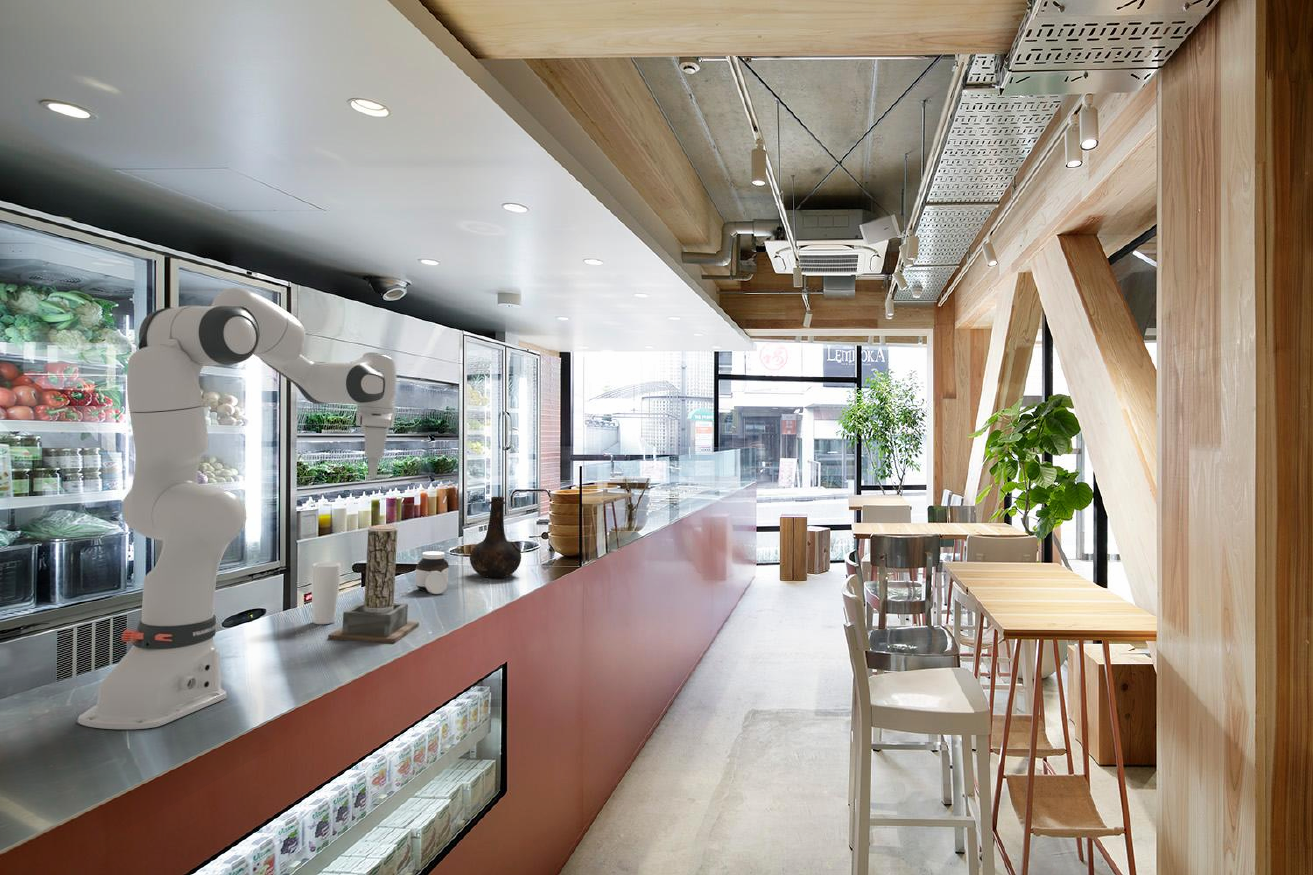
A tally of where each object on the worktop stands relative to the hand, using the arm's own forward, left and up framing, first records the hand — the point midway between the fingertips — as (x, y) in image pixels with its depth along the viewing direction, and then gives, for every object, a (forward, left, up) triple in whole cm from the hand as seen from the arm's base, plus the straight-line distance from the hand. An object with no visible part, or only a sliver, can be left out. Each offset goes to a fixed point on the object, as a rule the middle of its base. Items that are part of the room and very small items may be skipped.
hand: (372, 475), depth 180 cm
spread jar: (+50, -1, -39) cm, 63 cm away
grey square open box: (+1, -3, -39) cm, 39 cm away
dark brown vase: (+79, -13, -39) cm, 89 cm away
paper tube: (+1, -3, -38) cm, 38 cm away
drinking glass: (+7, +13, -39) cm, 42 cm away
